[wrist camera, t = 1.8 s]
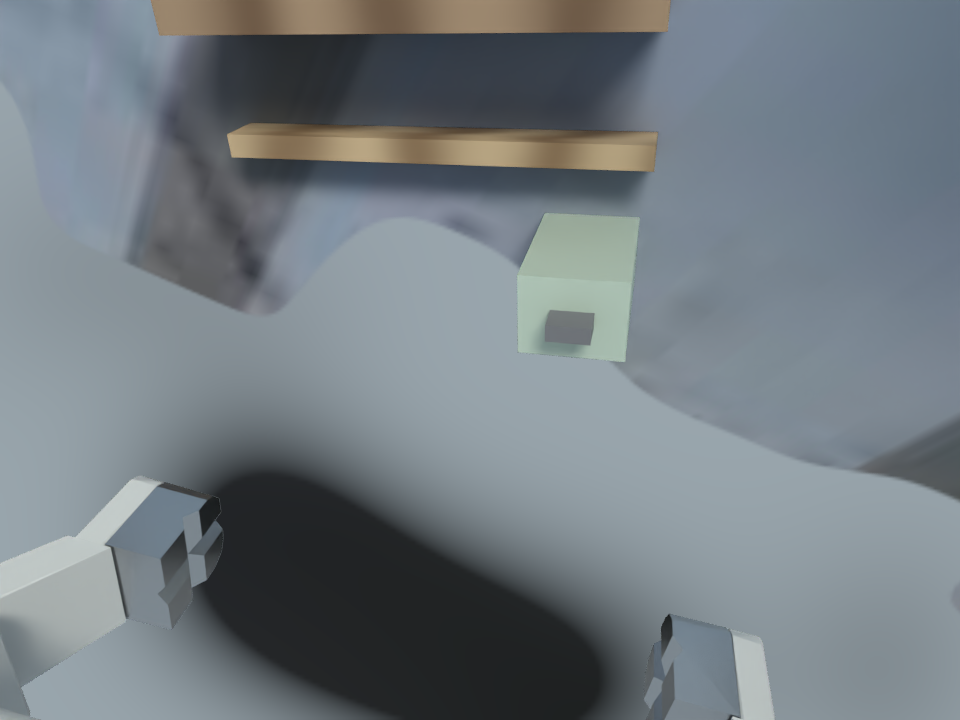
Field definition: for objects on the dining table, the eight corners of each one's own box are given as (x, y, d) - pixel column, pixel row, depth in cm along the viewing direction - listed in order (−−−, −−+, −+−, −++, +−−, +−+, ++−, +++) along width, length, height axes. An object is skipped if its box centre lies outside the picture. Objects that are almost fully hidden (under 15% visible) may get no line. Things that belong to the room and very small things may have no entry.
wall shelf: (672, -25, 31) (672, -14, 26) (655, 156, 35) (651, 196, 30) (223, -14, 36) (150, -3, 31) (255, 144, 40) (194, 177, 35)
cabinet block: (639, 217, 37) (629, 298, 29) (633, 286, 39) (622, 379, 31) (544, 213, 38) (510, 289, 30) (543, 280, 40) (511, 368, 32)
